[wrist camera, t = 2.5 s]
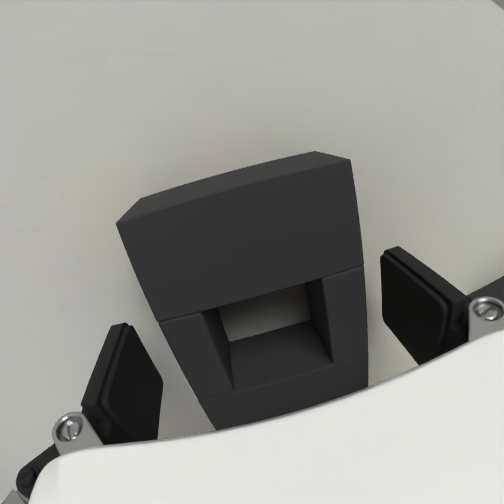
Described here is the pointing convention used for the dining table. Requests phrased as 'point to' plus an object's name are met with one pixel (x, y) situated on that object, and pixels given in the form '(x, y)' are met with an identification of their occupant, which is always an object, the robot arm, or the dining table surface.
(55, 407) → the dining table surface
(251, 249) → the black socket block
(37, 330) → the dining table surface
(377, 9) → the dining table surface
